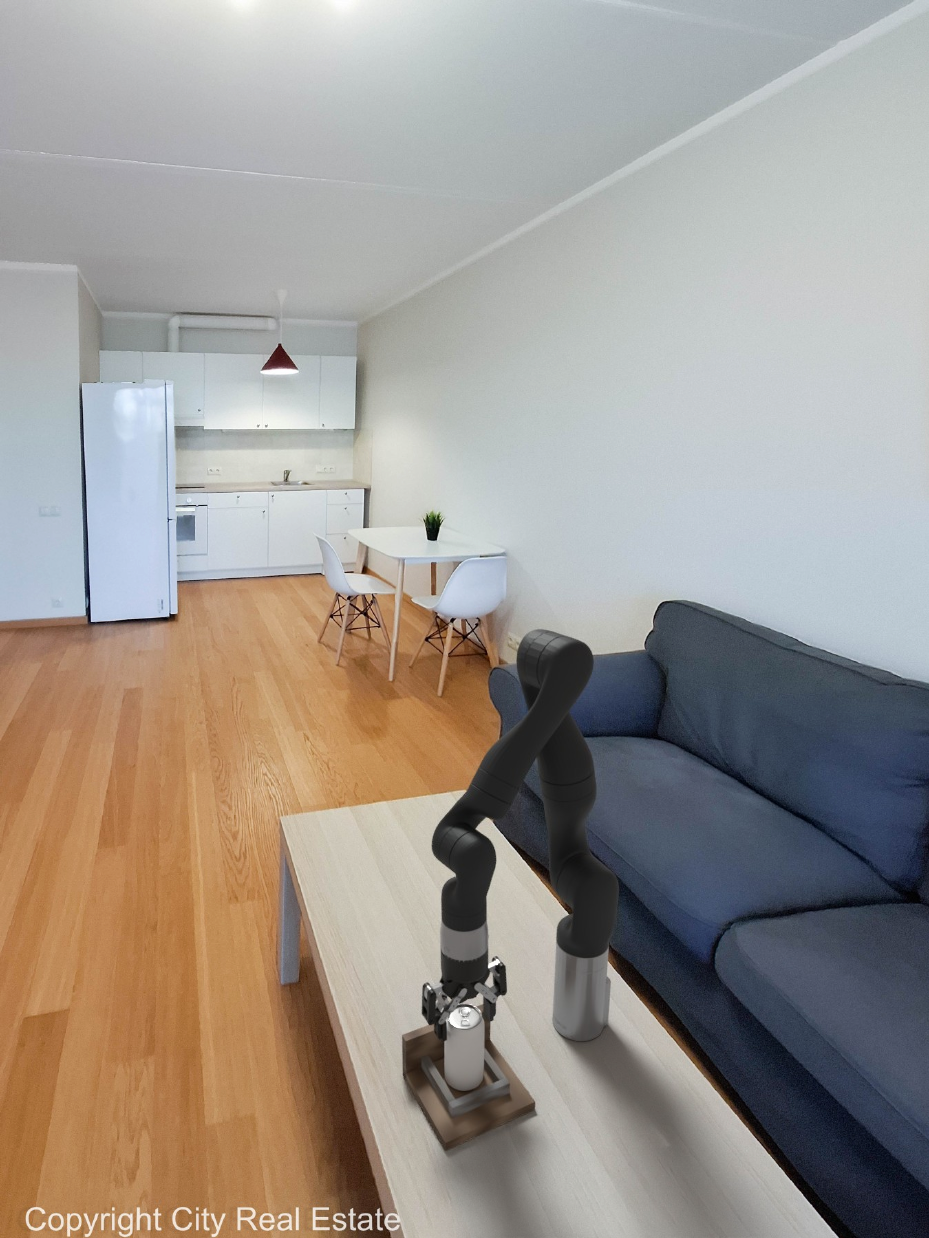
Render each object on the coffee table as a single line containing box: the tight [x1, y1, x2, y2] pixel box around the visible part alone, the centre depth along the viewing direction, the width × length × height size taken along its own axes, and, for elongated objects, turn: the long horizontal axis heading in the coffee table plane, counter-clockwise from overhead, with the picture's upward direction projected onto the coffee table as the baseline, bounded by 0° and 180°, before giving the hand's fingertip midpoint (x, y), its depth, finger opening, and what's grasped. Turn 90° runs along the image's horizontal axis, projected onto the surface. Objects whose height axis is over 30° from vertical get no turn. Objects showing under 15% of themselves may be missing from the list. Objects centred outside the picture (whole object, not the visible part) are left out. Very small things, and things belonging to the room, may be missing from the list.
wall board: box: [401, 1003, 536, 1152], centre depth 130 cm, size 16×16×8 cm
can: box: [445, 1003, 485, 1091], centre depth 131 cm, size 6×6×12 cm
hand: (465, 1027), depth 130 cm, fingers open, 8 cm apart
